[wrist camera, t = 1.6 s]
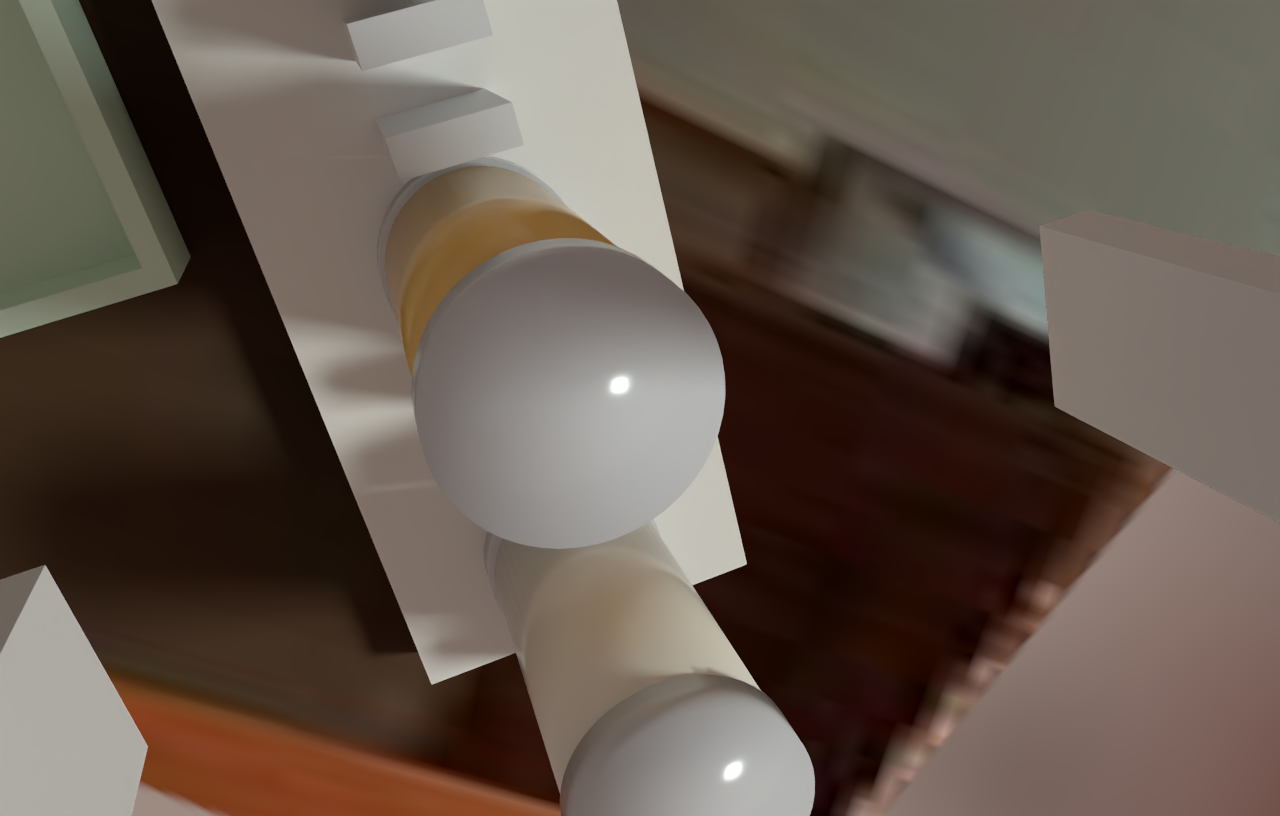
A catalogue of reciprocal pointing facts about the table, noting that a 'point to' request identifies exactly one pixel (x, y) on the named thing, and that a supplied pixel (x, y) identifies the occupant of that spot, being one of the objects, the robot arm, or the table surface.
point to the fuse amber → (544, 359)
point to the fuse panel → (358, 200)
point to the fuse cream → (642, 686)
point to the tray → (72, 176)
